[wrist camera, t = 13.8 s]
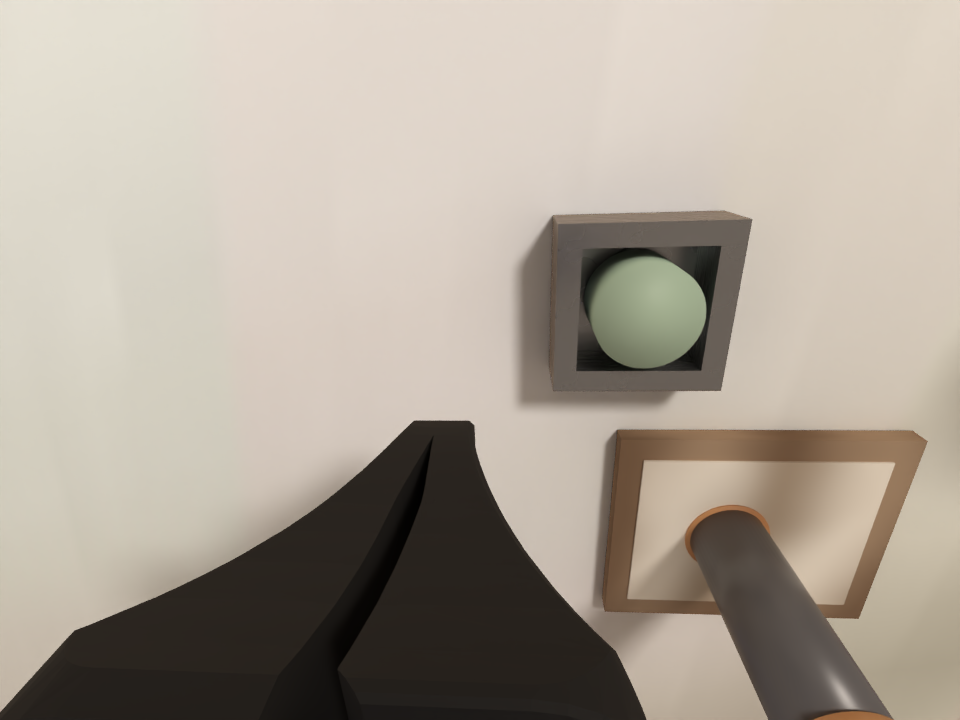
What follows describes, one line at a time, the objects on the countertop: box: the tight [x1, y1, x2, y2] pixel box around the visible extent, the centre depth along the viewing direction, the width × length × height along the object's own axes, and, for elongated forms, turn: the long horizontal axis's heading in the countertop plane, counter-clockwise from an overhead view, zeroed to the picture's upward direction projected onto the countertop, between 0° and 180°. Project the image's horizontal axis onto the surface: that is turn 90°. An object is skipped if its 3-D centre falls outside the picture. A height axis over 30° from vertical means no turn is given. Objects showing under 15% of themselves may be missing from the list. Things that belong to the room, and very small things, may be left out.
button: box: [584, 249, 706, 368], centre depth 17 cm, size 4×4×2 cm
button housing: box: [549, 211, 752, 391], centre depth 18 cm, size 6×6×2 cm
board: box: [602, 430, 928, 619], centre depth 22 cm, size 12×10×1 cm
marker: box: [690, 510, 894, 720], centre depth 17 cm, size 3×3×10 cm
